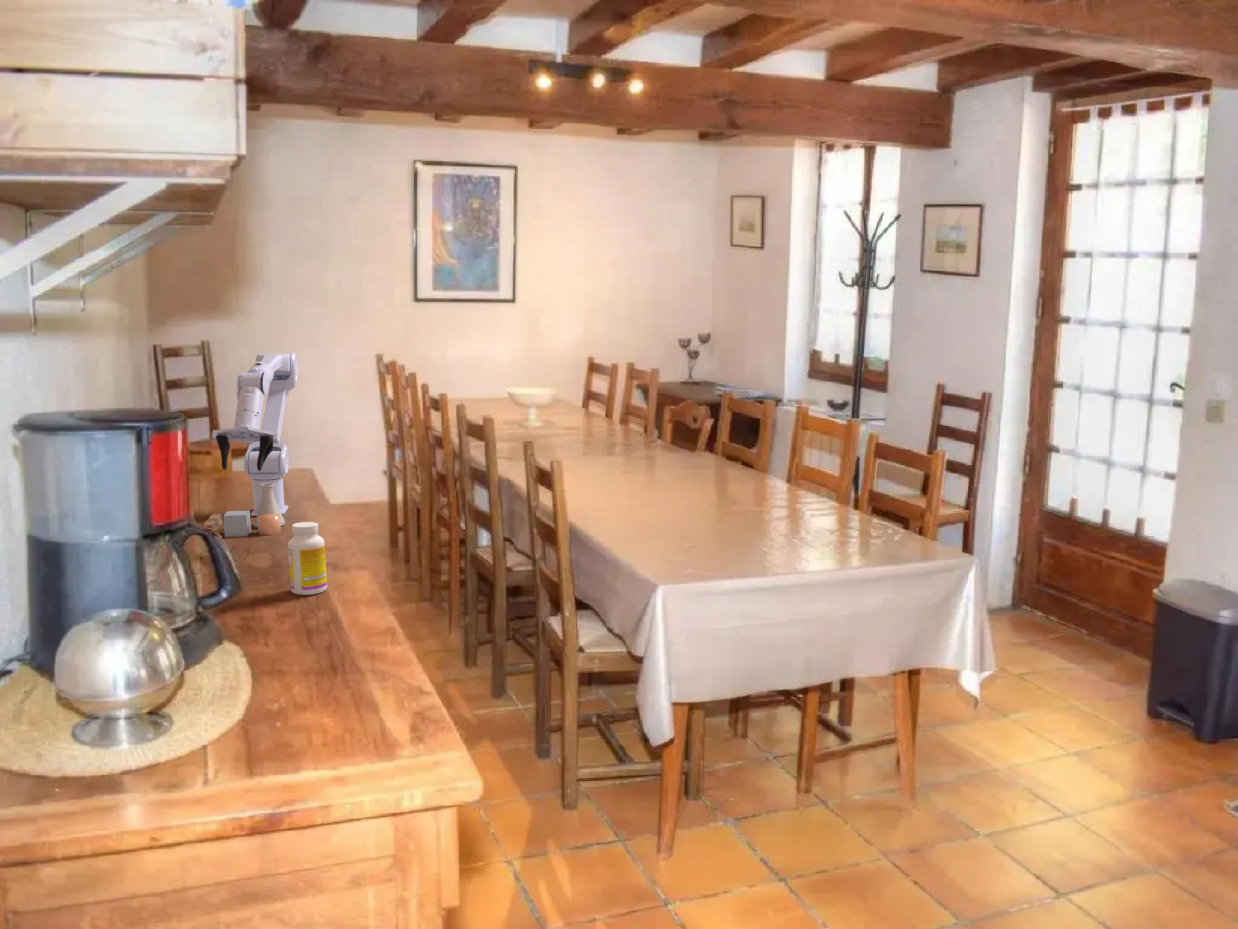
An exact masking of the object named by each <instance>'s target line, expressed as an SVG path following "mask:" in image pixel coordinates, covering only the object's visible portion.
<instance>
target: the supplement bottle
mask: <svg viewBox="0 0 1238 929" xmlns="http://www.w3.org/2000/svg"><path fill="white" fill-rule="evenodd" d="M291 532H292V534H293V537H291V538H290V539H289V540H288V542H287V551H288V552H287V553H288V554H287V555H288V569H289V584H290V591H291V593H293V594H294V595H299V596H312V595H317V594H320V593H322V592H323V593H324V592H325V591H326V590H327V588H328V580H327V566H326V565H327V564H326V561H327V560H326V548H325V546H326V544H325V539H324V538H323V537H322V536H320V535H319V534H318V532H319V523H318V522H314V521H304V522H303V521H301V522H296V523H292V525H291Z"/></svg>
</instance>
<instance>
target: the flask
mask: <svg viewBox="0 0 1238 929" xmlns="http://www.w3.org/2000/svg"><path fill="white" fill-rule="evenodd" d="M260 487H261V489H262V497H261V503H260V507H259V511H258V514H257V516H259V515H262V514H279V515H280V524H281V527H282V526H285V524H286V521H285V519H284V516H283V515H282V514H281V512H280V510H279V507H278V505H277V503H276V500H275V497H274V493H273V487H274V484H273V483H264V484H261V485H260ZM257 516H256V518H255V522H254V525H253V528H257V529H258V521H257Z"/></svg>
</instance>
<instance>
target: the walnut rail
mask: <svg viewBox="0 0 1238 929" xmlns="http://www.w3.org/2000/svg"><path fill="white" fill-rule="evenodd" d="M222 524H224V518H223V512H215V513H211V515H210V516H209V517H208V518H207V520H206V521H205V522H204V523H203V524H202V525H204V526H207V527H209V528H213V529H214V530H215V531H216V532H217V531H218V529H219V528H220V527H221V526H222Z"/></svg>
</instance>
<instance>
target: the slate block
mask: <svg viewBox="0 0 1238 929" xmlns="http://www.w3.org/2000/svg"><path fill="white" fill-rule="evenodd" d="M222 518H223V530H224V538H230V537H231V538H233V537H234V538H235V537H248V536H250V533H251V532H252V526H251V525H252V524H251V511H250V510H231V511H230V510H229V511H226V512H225V513H224V514H223V515H222Z"/></svg>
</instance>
